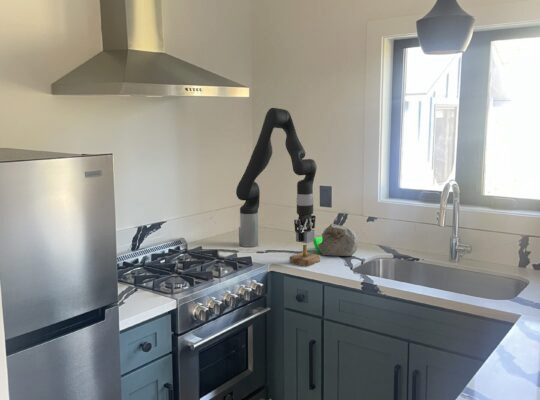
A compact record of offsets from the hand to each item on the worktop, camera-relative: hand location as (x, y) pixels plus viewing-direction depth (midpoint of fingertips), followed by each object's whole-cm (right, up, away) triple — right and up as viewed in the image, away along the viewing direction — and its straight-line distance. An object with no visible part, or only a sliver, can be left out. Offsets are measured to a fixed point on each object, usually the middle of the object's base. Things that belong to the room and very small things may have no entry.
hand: (305, 239), depth 249 cm
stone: (+17, -9, +14) cm, 23 cm away
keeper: (0, -11, +2) cm, 11 cm away
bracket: (+14, -7, +27) cm, 31 cm away
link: (0, -1, 0) cm, 1 cm away
